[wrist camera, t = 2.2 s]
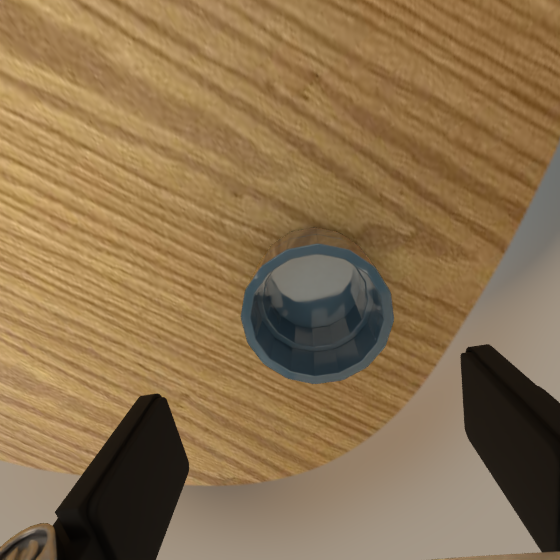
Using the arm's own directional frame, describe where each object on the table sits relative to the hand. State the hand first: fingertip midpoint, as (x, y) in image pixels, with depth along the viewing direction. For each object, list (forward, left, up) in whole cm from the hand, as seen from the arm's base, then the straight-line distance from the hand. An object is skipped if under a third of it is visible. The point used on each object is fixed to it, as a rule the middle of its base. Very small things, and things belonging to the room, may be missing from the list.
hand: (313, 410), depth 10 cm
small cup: (0, 0, -12) cm, 12 cm away
